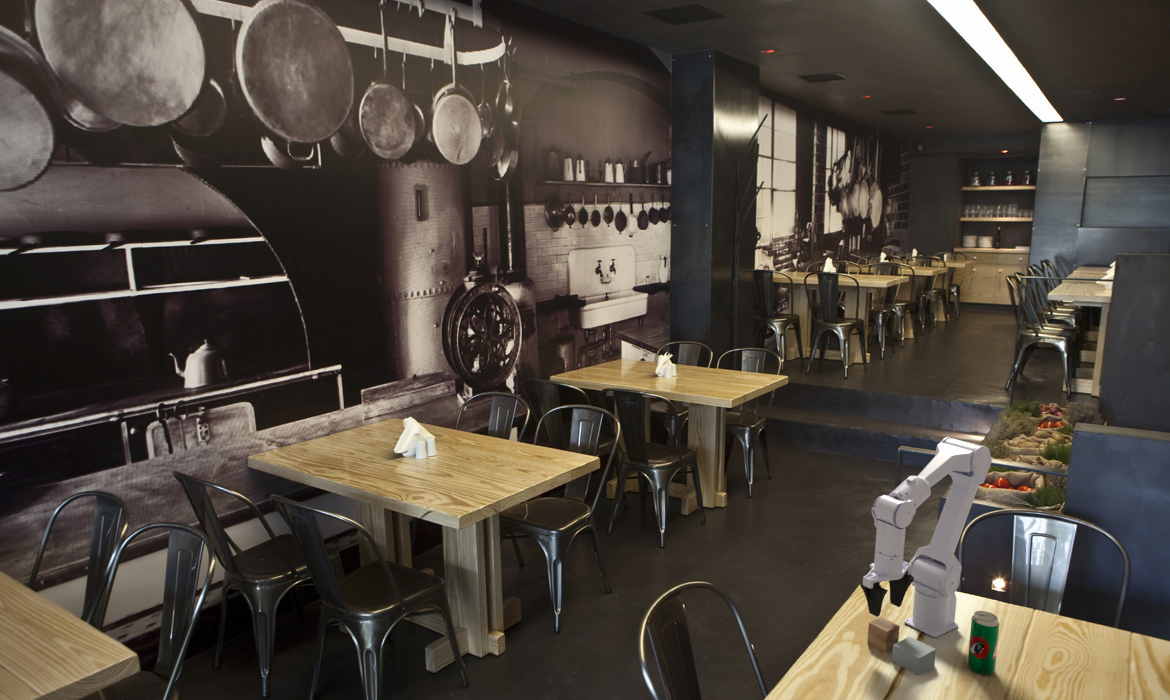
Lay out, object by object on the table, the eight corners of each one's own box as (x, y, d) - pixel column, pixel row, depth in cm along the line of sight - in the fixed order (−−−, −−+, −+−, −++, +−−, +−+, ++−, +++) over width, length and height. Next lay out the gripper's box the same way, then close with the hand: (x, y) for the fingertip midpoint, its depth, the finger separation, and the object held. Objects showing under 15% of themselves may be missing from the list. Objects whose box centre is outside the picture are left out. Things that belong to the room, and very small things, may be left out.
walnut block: (879, 637, 167) (881, 616, 166) (897, 646, 163) (899, 625, 162) (867, 643, 164) (868, 622, 164) (885, 653, 161) (886, 631, 160)
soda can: (998, 677, 152) (1003, 623, 150) (971, 674, 153) (976, 620, 151) (990, 663, 157) (995, 611, 155) (964, 661, 158) (969, 608, 156)
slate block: (908, 653, 161) (909, 636, 160) (934, 666, 156) (935, 649, 155) (891, 662, 157) (893, 644, 157) (917, 676, 153) (919, 658, 152)
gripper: (893, 537, 168) (889, 593, 170) (852, 552, 160) (848, 610, 162) (922, 548, 162) (917, 606, 164) (881, 564, 154) (876, 625, 156)
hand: (885, 609), depth 162 cm, fingers open, 7 cm apart
